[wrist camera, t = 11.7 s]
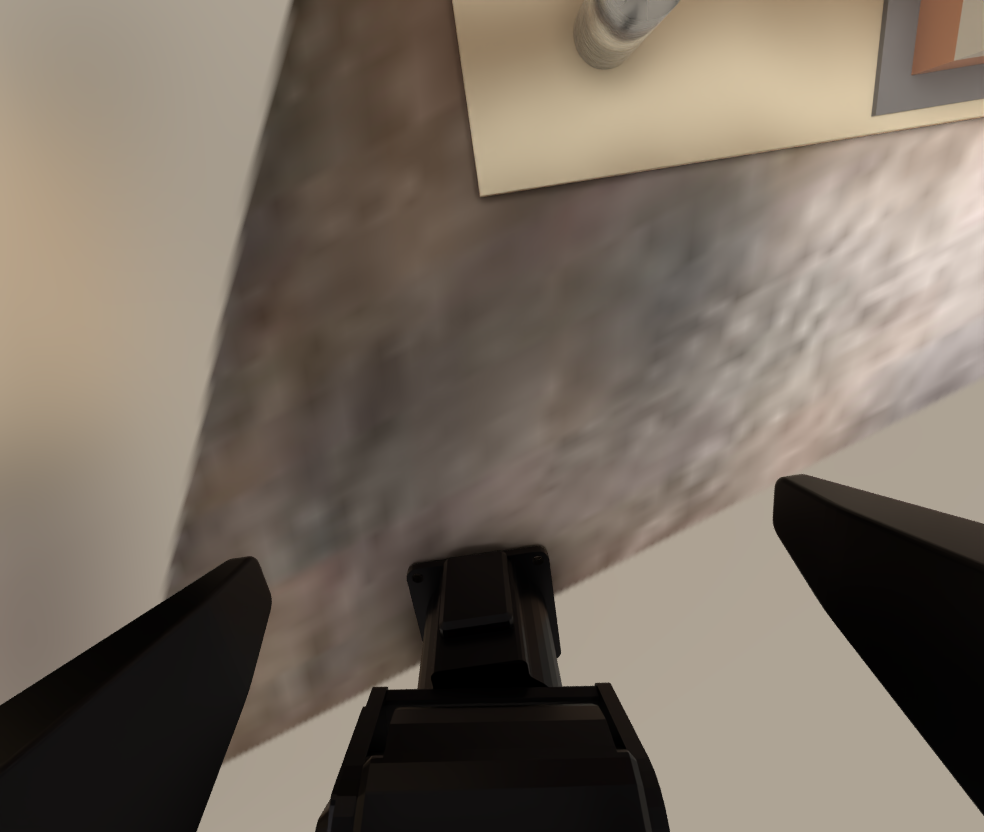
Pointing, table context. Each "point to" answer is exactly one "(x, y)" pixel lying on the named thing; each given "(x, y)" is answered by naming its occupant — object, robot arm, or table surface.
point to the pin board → (692, 86)
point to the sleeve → (949, 35)
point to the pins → (616, 28)
